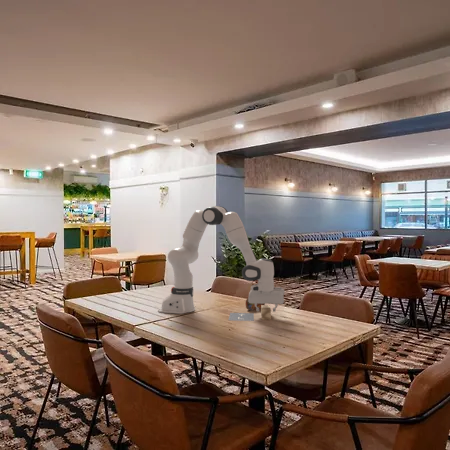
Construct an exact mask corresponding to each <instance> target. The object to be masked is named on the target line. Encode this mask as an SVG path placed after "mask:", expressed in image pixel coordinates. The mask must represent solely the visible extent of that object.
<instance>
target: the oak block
mask: <svg viewBox="0 0 450 450" xmlns="http://www.w3.org/2000/svg"><path fill="white" fill-rule="evenodd" d="M270 305H271V304H270ZM270 305H269V304H265V305H261V309H260V315H261V320H264V321H271V318H272V309H271V306H270Z"/></svg>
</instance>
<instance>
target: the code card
mask: <svg viewBox="0 0 450 450" xmlns="http://www.w3.org/2000/svg"><path fill="white" fill-rule="evenodd" d="M254 317H255V314H254V312H252V313H250V312H249V313H248V312H229V317H228V321H232V322H233V321H237V322H238V321H239V322H241V321H242V322H245V321H247V322H254V320H255V319H254Z"/></svg>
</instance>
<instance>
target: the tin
mask: <svg viewBox="0 0 450 450" xmlns="http://www.w3.org/2000/svg"><path fill="white" fill-rule="evenodd" d="M248 299H249V297H248V298H246V300H245V308H246V309H247V310H248V311H256V307H255V303H249V302H248ZM261 305H266V304H261V303H257V305H256V306H257V307H258V308H259V310H261Z"/></svg>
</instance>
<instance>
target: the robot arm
mask: <svg viewBox="0 0 450 450" xmlns="http://www.w3.org/2000/svg"><path fill="white" fill-rule="evenodd" d="M208 225H209V226H218V225H222V227H223V228H224V231H225V234H226V236H227V238H228V240H229V242H230V243H231V244H232V245H233V246H234V247H236V248H238V249H239V251H240V252H241V254H242V256H243V258H244V261H245V263H246V265H245V266H244V267H243V268H242V270H241V275H242V277H243V279H244V280H246V281H249V282H252V281H258V282H257V283H255V284H252V285H251V286H250V291H249V293H248V298H249V299H248V302H249V303H255V307H256V310H255V311H256V312H260V309H259V308H258V307H257V306H256V305H257V303H261V304H265V305H269V304H270V305H271V304H272V305H274V307H272V312H276V311H277V308H278V307H279V306H278V305H283V304H284V303H285V301H284V300H285V299H284V295H285V289H284V288H283V287H280V286H279V287H276V286H275V281H274V276H275V267H274V262H273V260H272V259H269V258H263V257H262V258H260V259H258V260H257V258H256V256H255V253H254V251H253V249H252V246H251V244H250V242H249V238H248V235H247V232H246V228H245V225H244V223H243V221H242V220H241V217H240V216H239V214H238V212H235V211H228V210H227V208H225V207H224V206H218V205H214V206H209V207H206V208H205V209H204V210H202V209H196V210H195V211H194V212H193V214H192V215H191V217H190V218H189V220H188V222H187V225H186V227H185V229H184V231H183V233H182V239H183V241H182V245H181V247H180V246H179V247H175V248H173V249H171V250H170V251H169V252H168V254H167V260H168V262H169V264H170V265H171V267H172V271H173V275H174V277H173V278H174V286H172V287H171V289H170V294H169V295H168V296H166V297H165V298H164V299H163V300H162V302H161V306H160V307H158V309H157V312H158V313H165V314H180V315H181V314H185V313H192V312H195V311H196V308H195V303H194V287H193V284H194V283H193V278H194V277H193V273H192V272H191V269H190V267H189V266H190V264H193V263H194V262H195V261H197V259H199V247H200V243H201V240H202V238H203V235H204V233H205V231H206V228H207V226H208Z"/></svg>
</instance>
